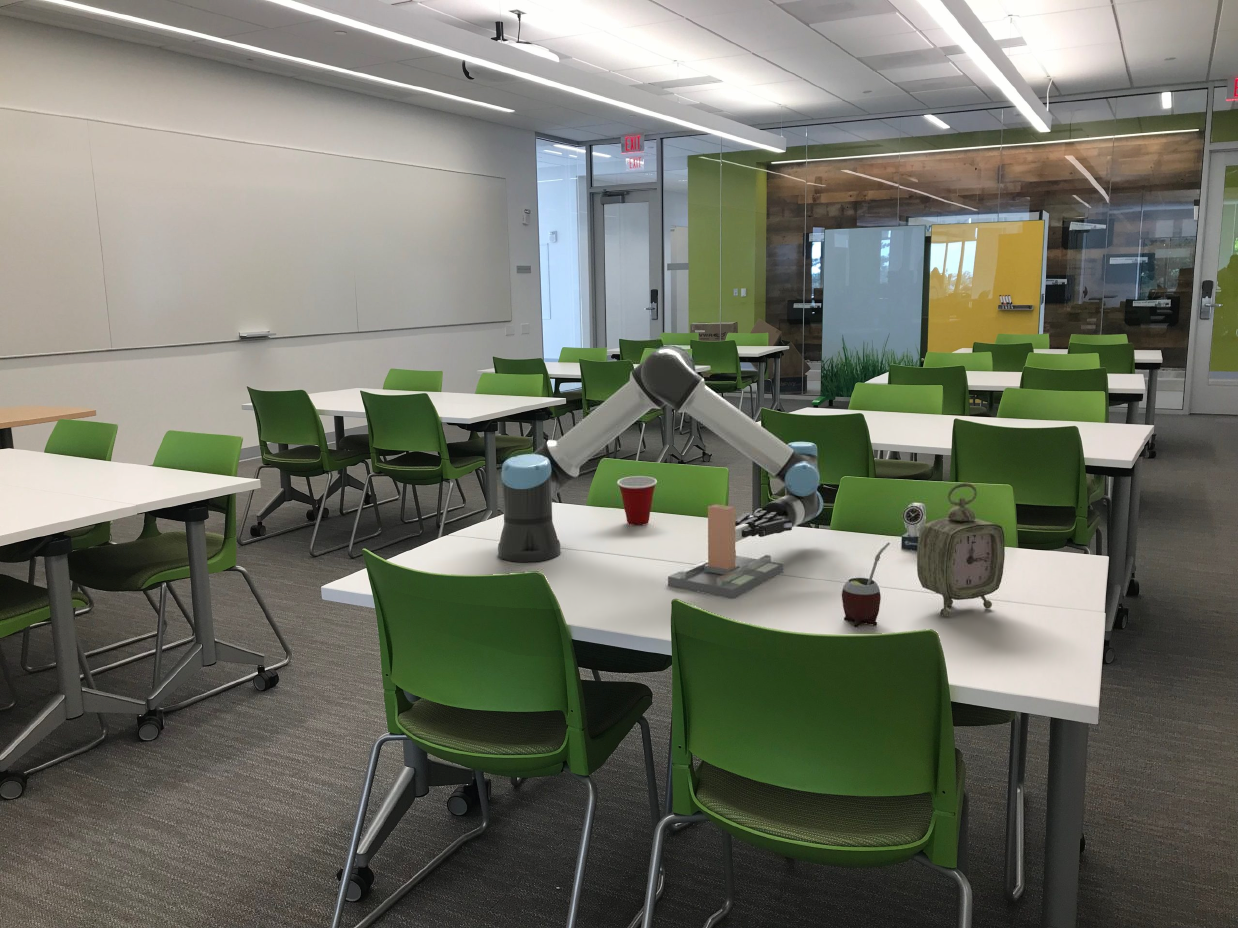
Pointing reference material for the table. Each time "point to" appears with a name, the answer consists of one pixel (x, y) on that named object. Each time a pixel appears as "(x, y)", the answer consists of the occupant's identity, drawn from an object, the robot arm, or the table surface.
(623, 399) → the robot arm
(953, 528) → the tabletop clock
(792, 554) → the table surface
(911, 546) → the watch
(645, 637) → the table surface
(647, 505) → the plastic cup
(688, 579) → the switch panel
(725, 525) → the switch lever
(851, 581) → the mate gourd
